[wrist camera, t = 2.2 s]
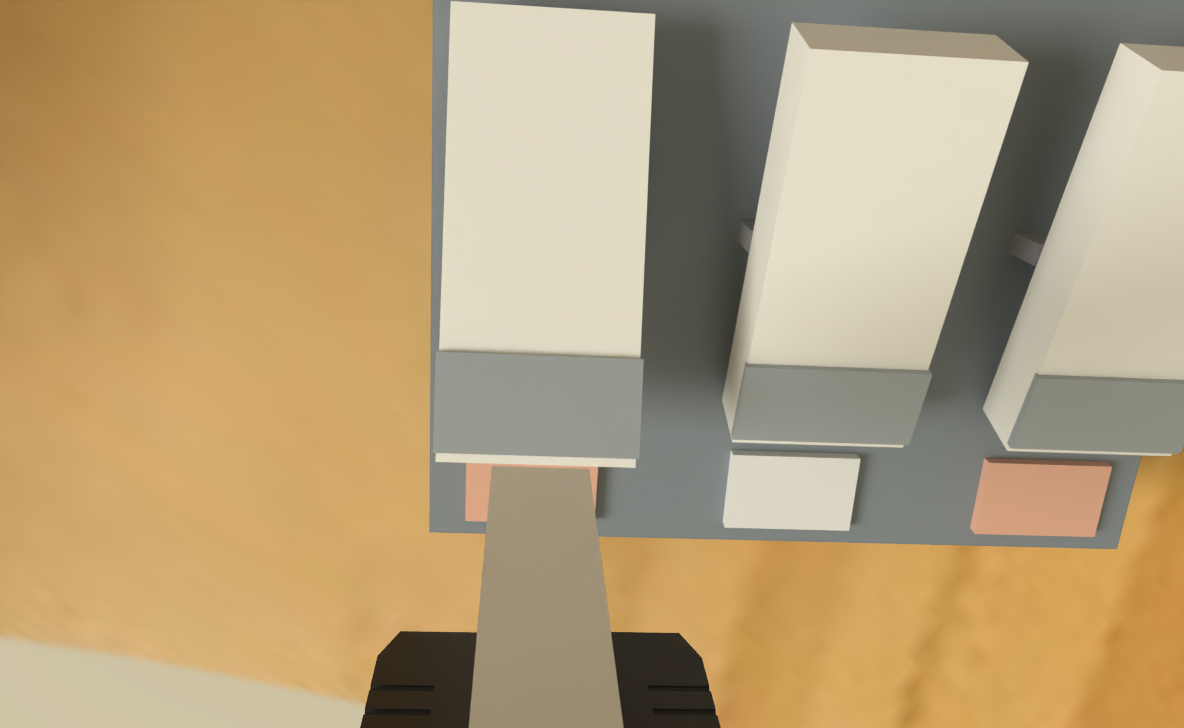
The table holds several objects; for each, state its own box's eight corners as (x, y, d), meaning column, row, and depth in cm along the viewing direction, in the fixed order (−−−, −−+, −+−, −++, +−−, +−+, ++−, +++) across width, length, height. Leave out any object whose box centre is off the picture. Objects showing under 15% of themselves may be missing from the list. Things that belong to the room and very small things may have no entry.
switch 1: (453, 24, 21) (447, -2, 19) (647, 36, 21) (659, 12, 19) (439, 450, 21) (432, 462, 20) (629, 455, 22) (638, 468, 20)
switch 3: (1117, 43, 19) (1163, 72, 18) (1316, 55, 20) (1377, 86, 18) (980, 409, 24) (1007, 455, 23) (1140, 414, 25) (1176, 460, 23)
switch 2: (789, 21, 19) (809, 51, 17) (997, 34, 19) (1035, 65, 18) (719, 400, 24) (731, 446, 23) (885, 405, 24) (907, 451, 23)
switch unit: (452, -145, 24) (428, -197, 19) (1151, -94, 26) (1334, -127, 20) (445, 457, 30) (424, 565, 24) (1026, 475, 31) (1140, 581, 25)
